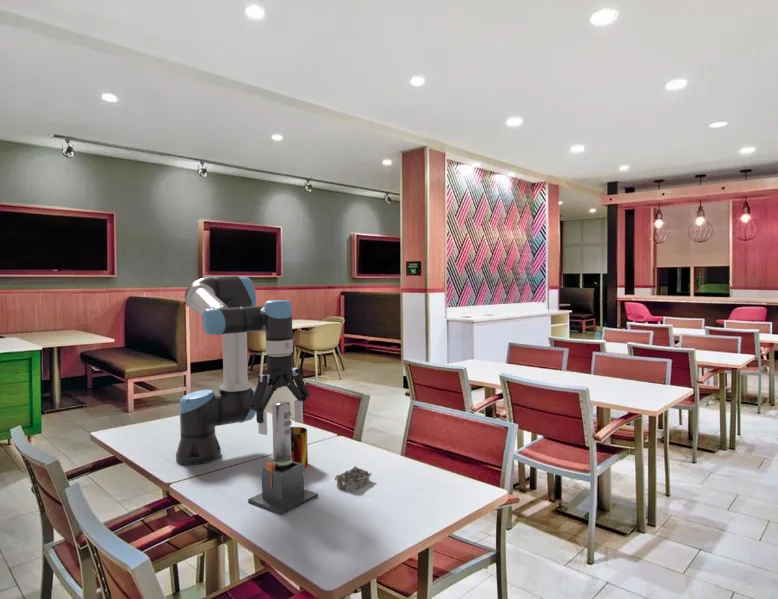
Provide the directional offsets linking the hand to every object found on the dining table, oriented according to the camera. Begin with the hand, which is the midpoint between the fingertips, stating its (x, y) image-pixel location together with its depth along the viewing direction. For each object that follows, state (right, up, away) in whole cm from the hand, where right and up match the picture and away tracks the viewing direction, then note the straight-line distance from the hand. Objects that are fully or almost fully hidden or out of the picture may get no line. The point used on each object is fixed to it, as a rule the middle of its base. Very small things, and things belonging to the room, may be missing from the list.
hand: (281, 428), depth 150 cm
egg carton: (+20, -21, +12) cm, 31 cm away
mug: (0, -20, +26) cm, 33 cm away
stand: (0, -21, +1) cm, 21 cm away
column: (0, -13, +1) cm, 13 cm away
